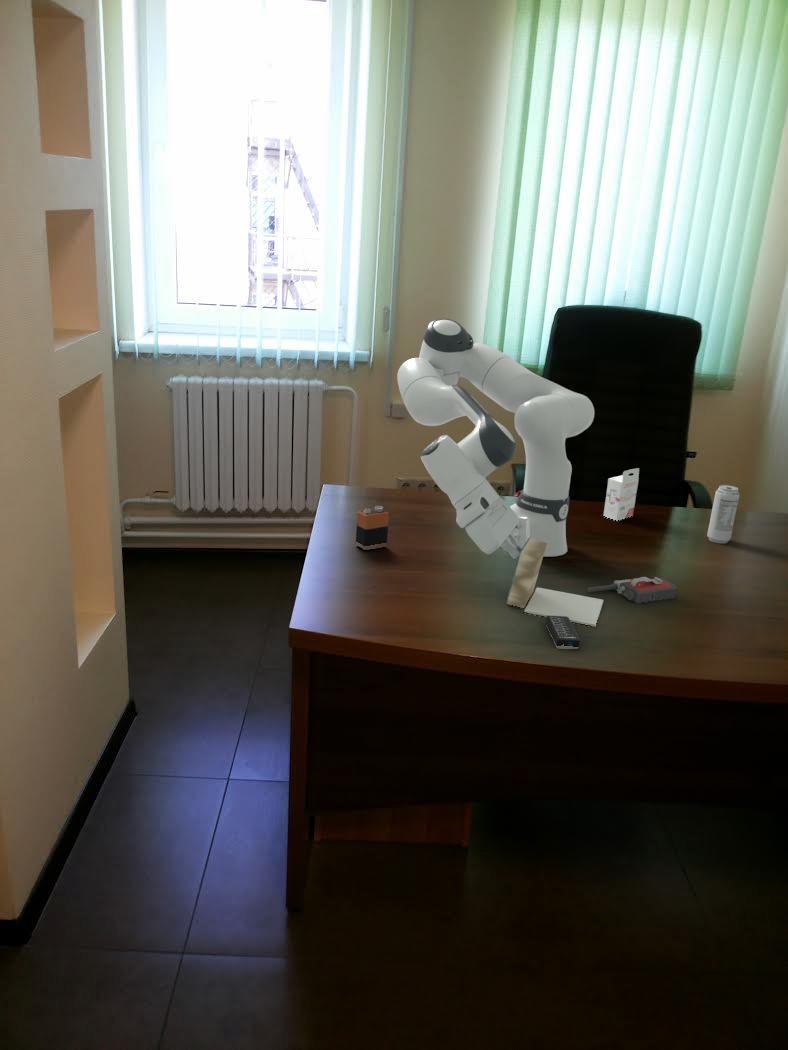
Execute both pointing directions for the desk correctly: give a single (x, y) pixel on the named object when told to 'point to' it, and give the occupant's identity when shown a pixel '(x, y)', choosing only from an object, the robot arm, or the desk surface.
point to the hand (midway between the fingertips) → (518, 555)
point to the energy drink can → (723, 514)
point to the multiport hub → (562, 631)
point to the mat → (565, 606)
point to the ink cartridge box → (621, 495)
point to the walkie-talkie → (641, 589)
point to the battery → (372, 526)
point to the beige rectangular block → (526, 572)
